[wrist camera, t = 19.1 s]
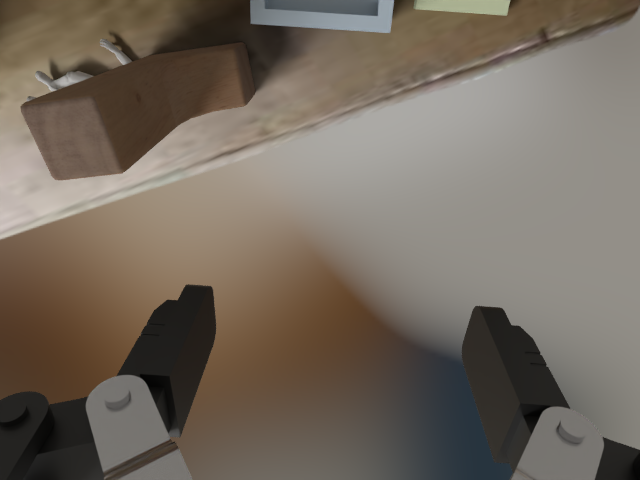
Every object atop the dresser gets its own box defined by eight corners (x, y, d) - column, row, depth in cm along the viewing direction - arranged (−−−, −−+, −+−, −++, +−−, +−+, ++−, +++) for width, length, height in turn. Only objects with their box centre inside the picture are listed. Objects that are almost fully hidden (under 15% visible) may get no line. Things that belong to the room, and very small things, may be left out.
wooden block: (246, 40, 37) (177, 82, 22) (256, 94, 40) (201, 166, 24) (146, 55, 38) (14, 104, 23) (162, 106, 41) (51, 183, 25)
